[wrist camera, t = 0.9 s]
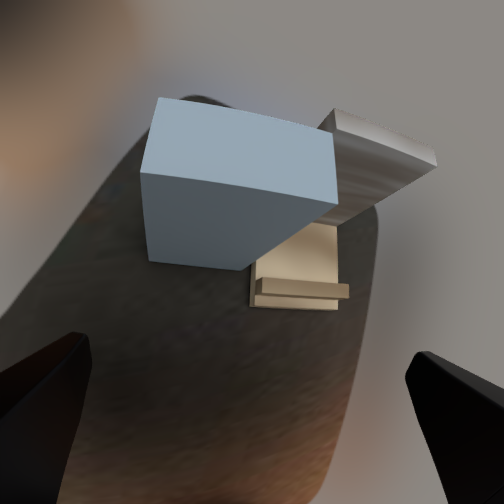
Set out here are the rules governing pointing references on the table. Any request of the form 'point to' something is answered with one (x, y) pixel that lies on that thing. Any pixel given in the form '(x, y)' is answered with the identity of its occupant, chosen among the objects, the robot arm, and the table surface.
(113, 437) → the table surface
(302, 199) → the book
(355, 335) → the table surface
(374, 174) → the book stand
